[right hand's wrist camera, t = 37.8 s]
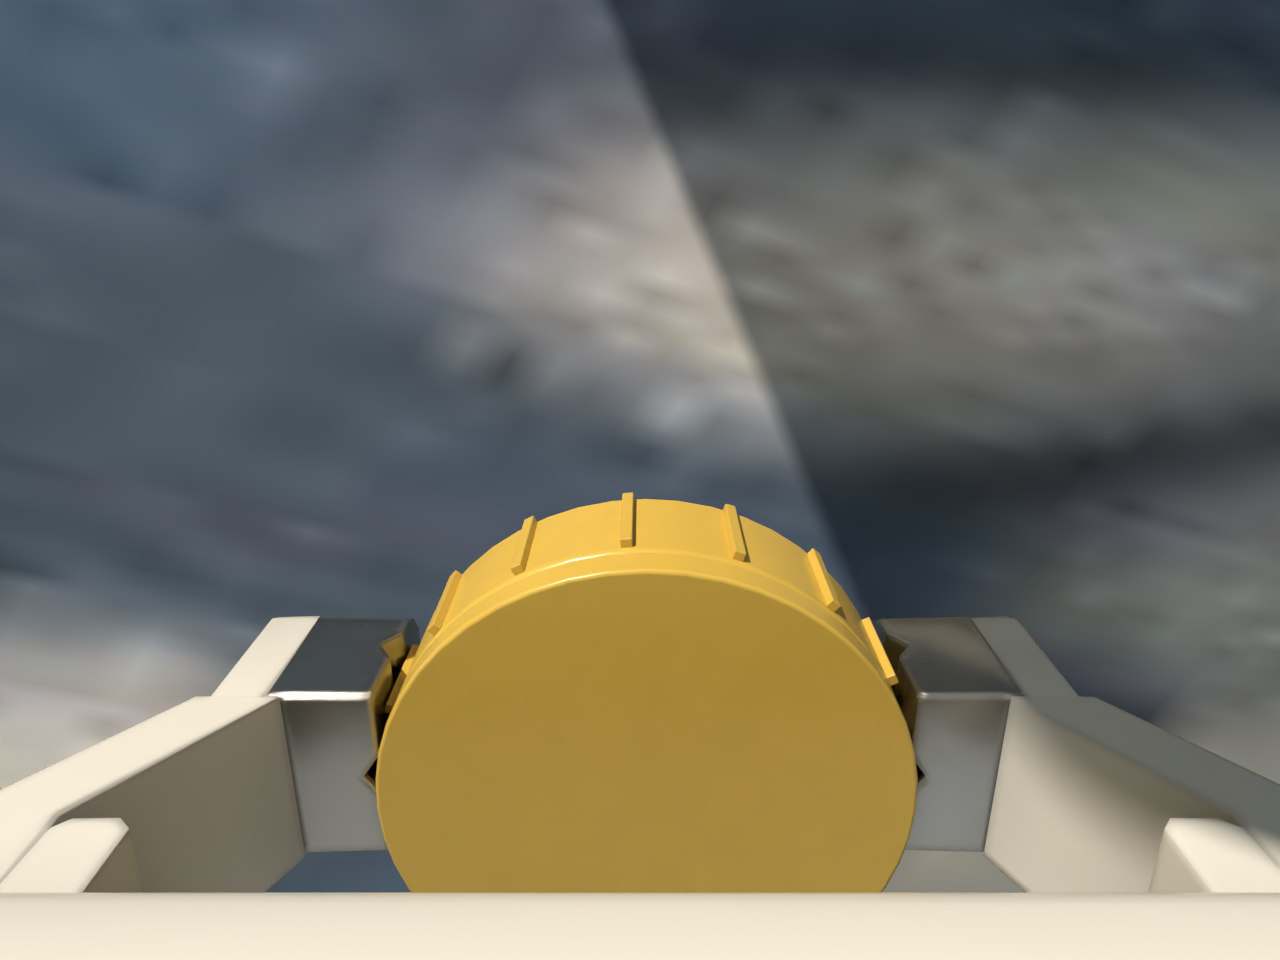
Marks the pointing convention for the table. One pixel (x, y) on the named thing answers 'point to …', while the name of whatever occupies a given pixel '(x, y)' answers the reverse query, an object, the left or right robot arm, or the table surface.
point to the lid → (646, 717)
